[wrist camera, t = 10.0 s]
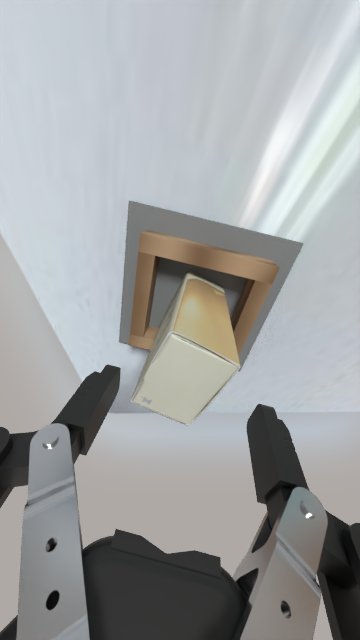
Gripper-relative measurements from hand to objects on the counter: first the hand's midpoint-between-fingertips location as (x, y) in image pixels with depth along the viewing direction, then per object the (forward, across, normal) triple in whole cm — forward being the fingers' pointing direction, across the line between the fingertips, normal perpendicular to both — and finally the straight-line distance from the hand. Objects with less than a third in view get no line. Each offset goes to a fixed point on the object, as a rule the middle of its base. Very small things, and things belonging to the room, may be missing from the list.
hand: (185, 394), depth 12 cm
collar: (+13, 0, 0) cm, 13 cm away
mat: (+13, 0, 0) cm, 13 cm away
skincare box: (+12, +1, 0) cm, 12 cm away
